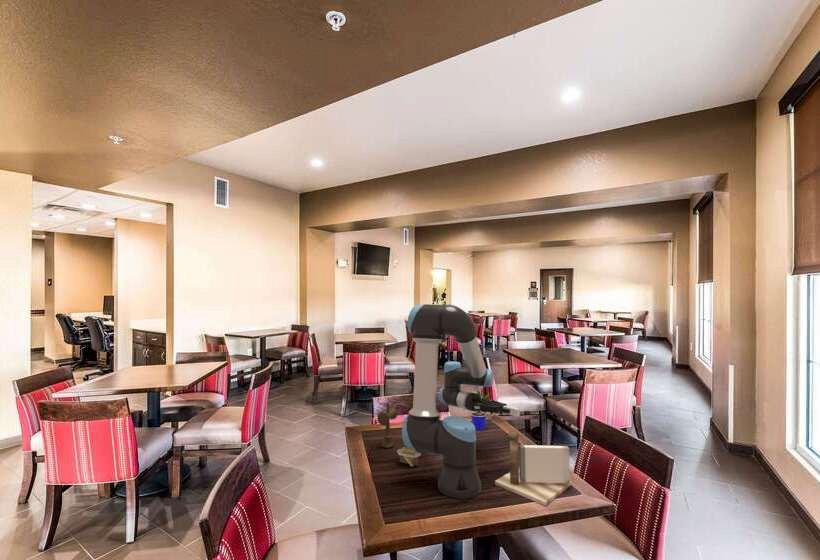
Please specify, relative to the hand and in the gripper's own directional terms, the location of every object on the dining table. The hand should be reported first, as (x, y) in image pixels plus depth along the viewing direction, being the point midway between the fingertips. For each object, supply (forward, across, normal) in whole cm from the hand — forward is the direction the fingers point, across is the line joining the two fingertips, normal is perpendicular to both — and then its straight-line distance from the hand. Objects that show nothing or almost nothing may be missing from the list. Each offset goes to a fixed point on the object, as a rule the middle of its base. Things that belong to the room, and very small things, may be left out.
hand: (518, 412), depth 143 cm
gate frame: (+8, +5, -23) cm, 25 cm away
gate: (+12, +4, -21) cm, 24 cm away
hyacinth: (-39, -29, -22) cm, 53 cm away
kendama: (-54, +21, -22) cm, 62 cm away
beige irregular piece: (-34, +27, -23) cm, 49 cm away
